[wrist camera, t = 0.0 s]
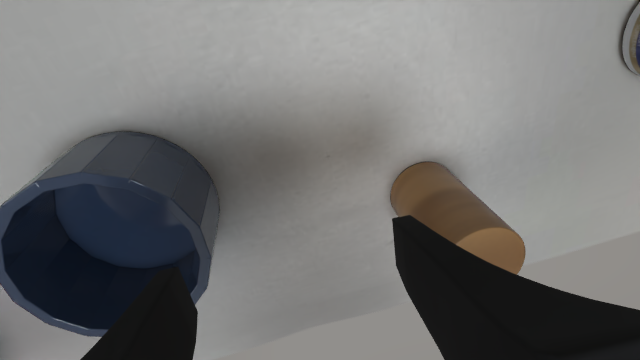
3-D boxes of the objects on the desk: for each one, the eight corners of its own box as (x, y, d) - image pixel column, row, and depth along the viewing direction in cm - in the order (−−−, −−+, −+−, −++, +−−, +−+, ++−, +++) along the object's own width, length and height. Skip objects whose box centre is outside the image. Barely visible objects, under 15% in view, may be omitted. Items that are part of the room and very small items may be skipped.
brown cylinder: (453, 212, 24) (522, 288, 18) (392, 225, 24) (440, 308, 17) (453, 155, 22) (530, 218, 16) (387, 169, 22) (439, 239, 16)
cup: (236, 251, 23) (232, 313, 18) (92, 283, 22) (52, 355, 18) (192, 115, 19) (172, 153, 14) (15, 150, 18) (-62, 201, 14)
